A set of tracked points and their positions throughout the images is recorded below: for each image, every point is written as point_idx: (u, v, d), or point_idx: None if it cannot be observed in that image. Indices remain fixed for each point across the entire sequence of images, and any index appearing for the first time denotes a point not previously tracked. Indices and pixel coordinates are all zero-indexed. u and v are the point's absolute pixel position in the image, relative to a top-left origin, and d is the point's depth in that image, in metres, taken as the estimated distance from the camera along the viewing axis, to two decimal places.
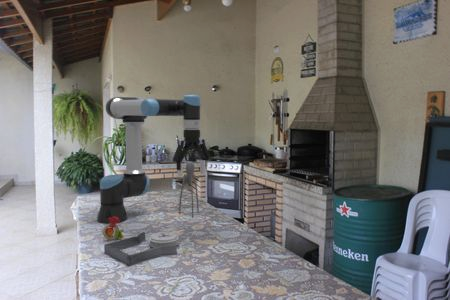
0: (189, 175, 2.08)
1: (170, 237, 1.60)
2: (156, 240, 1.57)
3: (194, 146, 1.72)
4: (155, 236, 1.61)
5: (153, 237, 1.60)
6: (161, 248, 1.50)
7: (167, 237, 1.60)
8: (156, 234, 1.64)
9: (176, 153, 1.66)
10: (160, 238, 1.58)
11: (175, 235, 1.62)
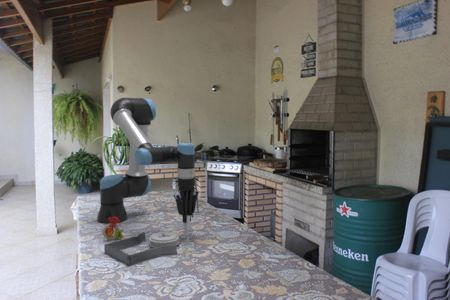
0: None
1: (170, 237, 1.60)
2: (156, 240, 1.57)
3: (189, 195, 1.69)
4: (155, 236, 1.61)
5: (153, 237, 1.60)
6: (161, 248, 1.50)
7: (167, 237, 1.60)
8: (156, 234, 1.64)
9: (178, 207, 1.67)
10: (160, 238, 1.58)
11: (175, 235, 1.62)
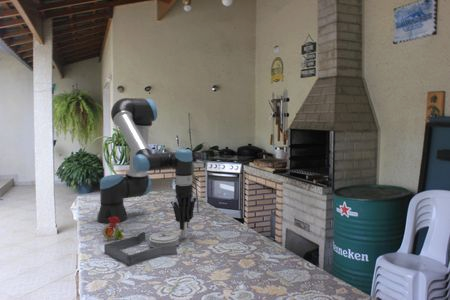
0: None
1: (170, 237, 1.60)
2: (156, 240, 1.57)
3: (186, 201, 1.68)
4: (155, 236, 1.61)
5: (153, 237, 1.60)
6: (161, 248, 1.50)
7: (167, 237, 1.60)
8: (156, 234, 1.64)
9: (176, 214, 1.66)
10: (160, 238, 1.58)
11: (175, 235, 1.62)
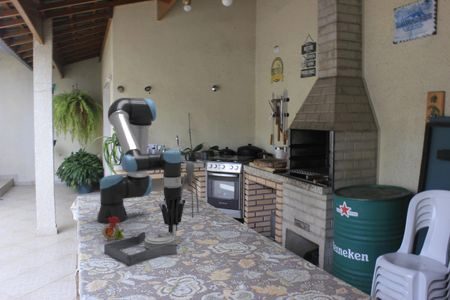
0: (189, 175, 2.08)
1: (166, 238, 1.58)
2: (152, 241, 1.55)
3: (175, 204, 1.64)
4: (151, 237, 1.59)
5: (149, 238, 1.58)
6: (161, 248, 1.50)
7: (163, 238, 1.58)
8: (152, 235, 1.62)
9: (164, 217, 1.62)
10: (156, 239, 1.57)
11: (171, 236, 1.61)
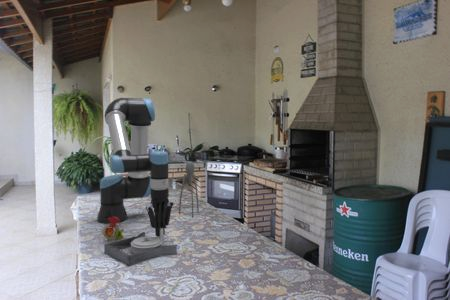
0: (189, 175, 2.08)
1: (153, 242, 1.53)
2: (138, 245, 1.50)
3: (162, 206, 1.59)
4: (137, 241, 1.54)
5: (135, 242, 1.53)
6: (161, 248, 1.50)
7: (150, 242, 1.54)
8: (138, 239, 1.57)
9: (151, 220, 1.57)
10: (142, 243, 1.52)
11: (158, 240, 1.56)
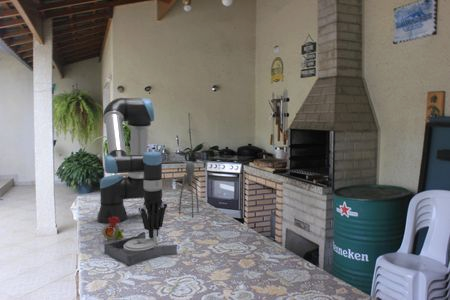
0: (189, 175, 2.08)
1: (146, 244, 1.51)
2: (131, 248, 1.48)
3: (156, 208, 1.57)
4: (130, 243, 1.52)
5: (128, 244, 1.50)
6: (161, 248, 1.50)
7: (143, 244, 1.51)
8: (131, 241, 1.54)
9: (144, 222, 1.54)
10: (135, 246, 1.49)
11: (151, 242, 1.54)
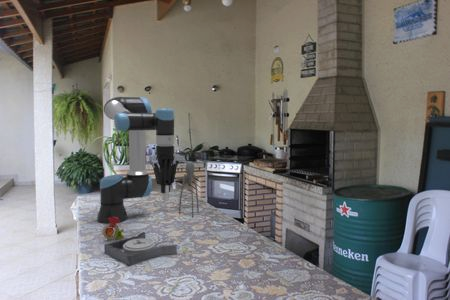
0: (189, 175, 2.08)
1: (145, 244, 1.51)
2: (130, 248, 1.48)
3: (168, 163, 1.60)
4: (130, 243, 1.52)
5: (127, 244, 1.50)
6: (161, 248, 1.50)
7: (143, 244, 1.51)
8: (131, 241, 1.54)
9: (156, 176, 1.57)
10: (135, 245, 1.49)
11: (151, 242, 1.54)
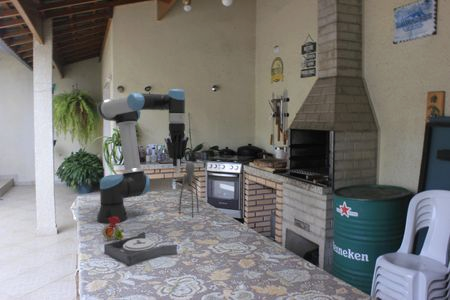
0: (189, 175, 2.08)
1: (145, 244, 1.51)
2: (130, 248, 1.48)
3: (179, 139, 1.77)
4: (130, 243, 1.52)
5: (127, 244, 1.50)
6: (161, 248, 1.50)
7: (143, 244, 1.51)
8: (131, 241, 1.54)
9: (169, 151, 1.75)
10: (135, 245, 1.49)
11: (151, 242, 1.54)
